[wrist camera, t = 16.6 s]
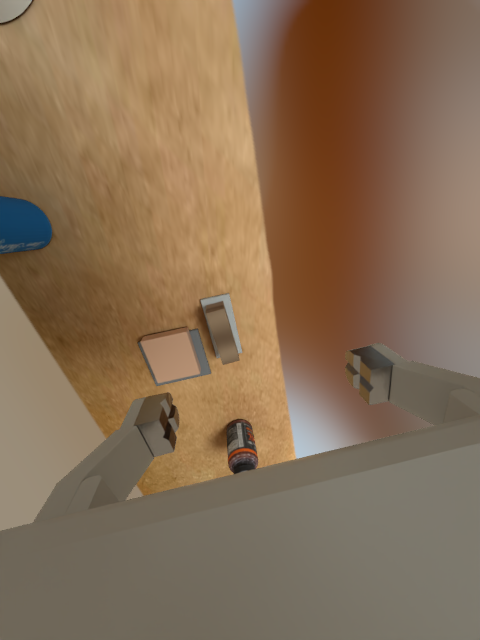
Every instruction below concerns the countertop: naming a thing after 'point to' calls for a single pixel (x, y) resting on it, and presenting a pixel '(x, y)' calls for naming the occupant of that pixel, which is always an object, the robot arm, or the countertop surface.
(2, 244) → the beverage can
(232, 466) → the supplement bottle
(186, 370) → the tile
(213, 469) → the countertop surface
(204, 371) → the mat
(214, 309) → the tall taupe beveled block
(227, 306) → the pad
